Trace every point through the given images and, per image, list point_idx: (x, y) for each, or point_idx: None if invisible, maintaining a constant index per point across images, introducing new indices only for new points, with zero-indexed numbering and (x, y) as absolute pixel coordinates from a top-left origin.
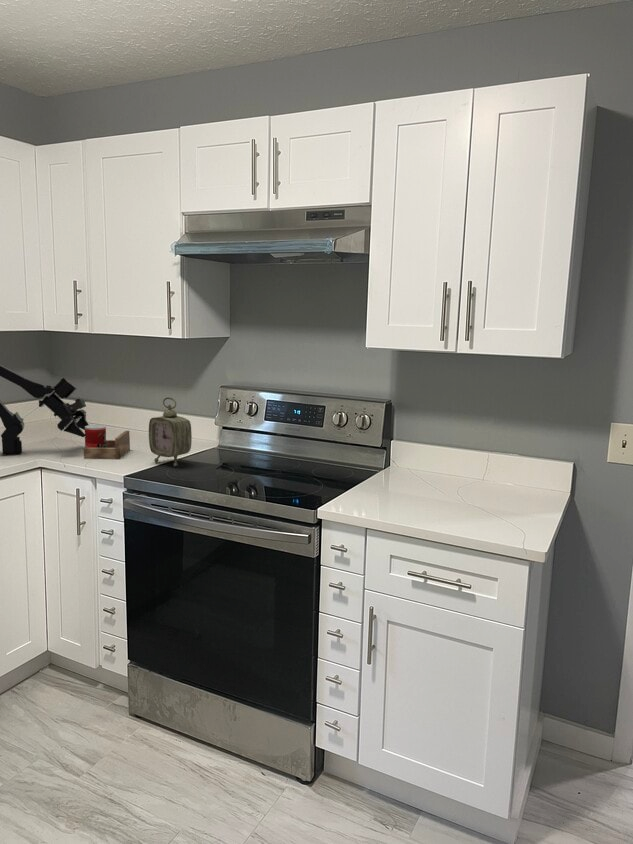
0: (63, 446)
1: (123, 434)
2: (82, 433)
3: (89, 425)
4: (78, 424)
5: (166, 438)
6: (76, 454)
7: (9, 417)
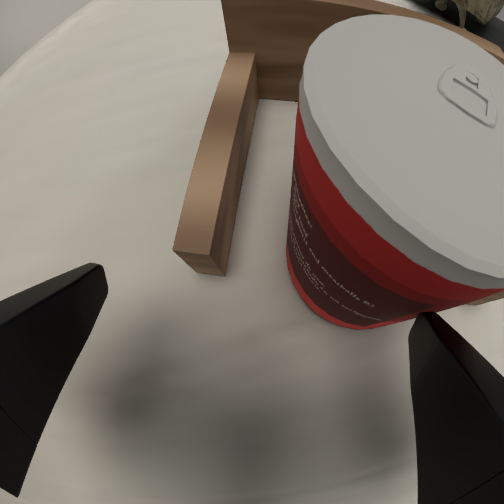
0: (79, 488)
1: (381, 4)
2: (456, 342)
3: (403, 200)
4: (8, 455)
5: None
6: (355, 396)
7: None
